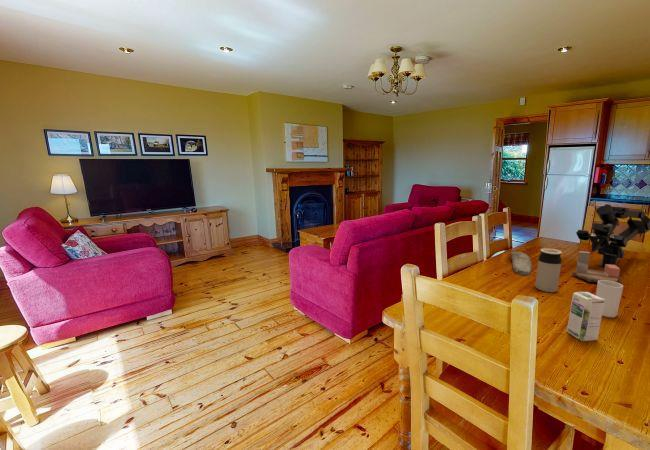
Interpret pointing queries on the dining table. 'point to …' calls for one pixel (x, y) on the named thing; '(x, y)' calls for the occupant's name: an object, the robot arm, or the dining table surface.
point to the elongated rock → (521, 263)
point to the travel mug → (548, 270)
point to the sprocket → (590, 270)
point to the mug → (609, 296)
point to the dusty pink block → (612, 270)
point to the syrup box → (585, 316)
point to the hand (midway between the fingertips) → (592, 251)
